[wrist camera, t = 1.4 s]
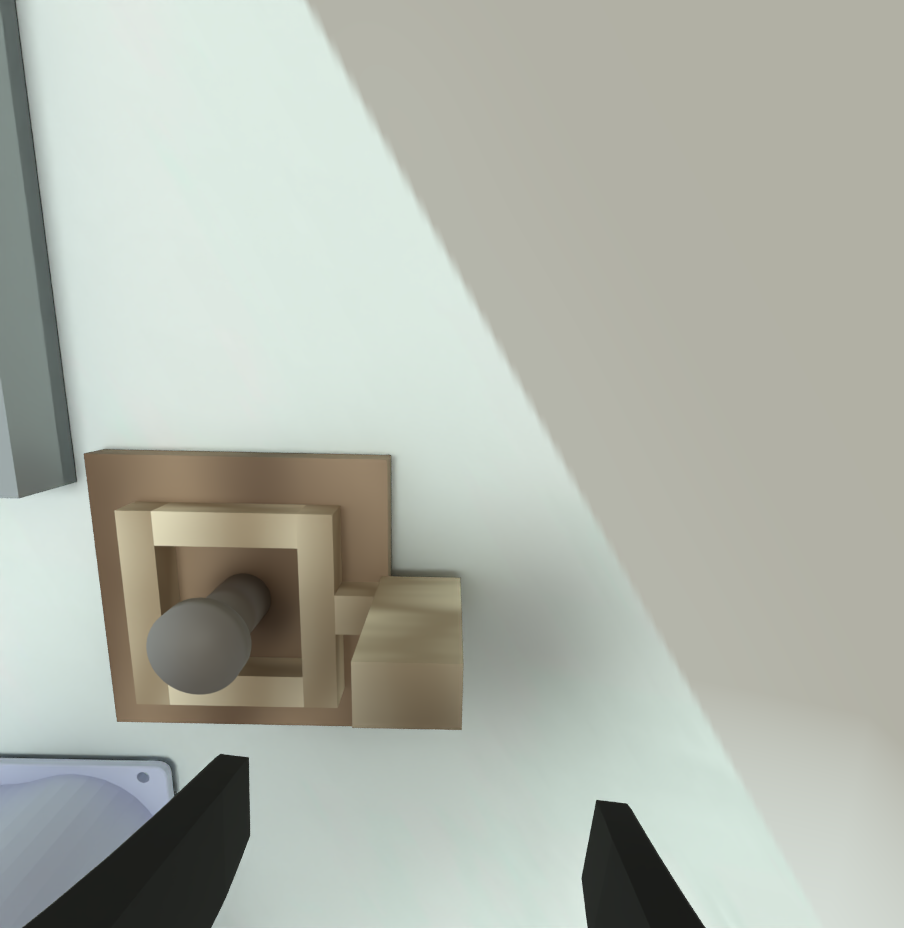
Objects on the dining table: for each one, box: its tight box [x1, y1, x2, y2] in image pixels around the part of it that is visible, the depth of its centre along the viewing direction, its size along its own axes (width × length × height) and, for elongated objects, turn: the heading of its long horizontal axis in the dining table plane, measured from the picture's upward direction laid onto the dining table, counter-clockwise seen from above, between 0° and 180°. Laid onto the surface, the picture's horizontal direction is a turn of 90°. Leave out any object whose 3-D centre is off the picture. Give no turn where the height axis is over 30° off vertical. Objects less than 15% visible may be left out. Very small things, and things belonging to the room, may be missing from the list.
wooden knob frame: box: [114, 501, 463, 730], centre depth 16 cm, size 12×8×6 cm, turn 89°
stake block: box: [84, 449, 391, 726], centre depth 17 cm, size 11×11×5 cm
